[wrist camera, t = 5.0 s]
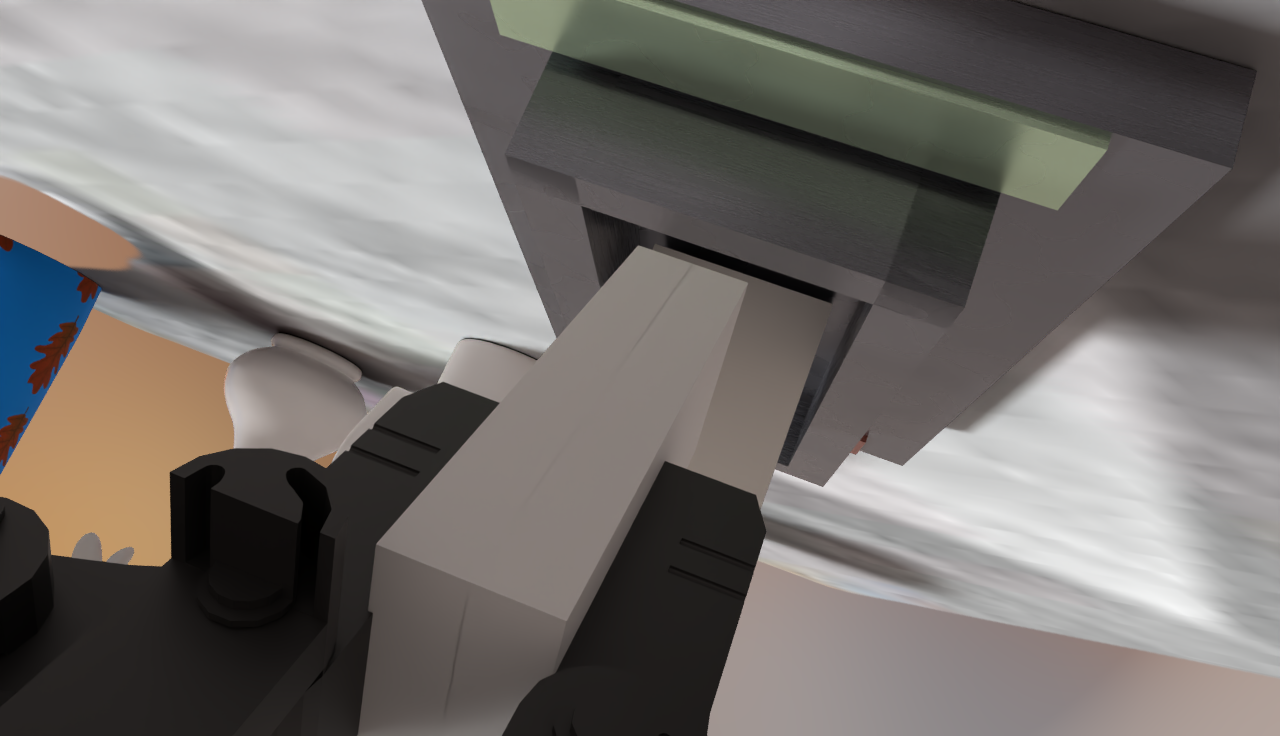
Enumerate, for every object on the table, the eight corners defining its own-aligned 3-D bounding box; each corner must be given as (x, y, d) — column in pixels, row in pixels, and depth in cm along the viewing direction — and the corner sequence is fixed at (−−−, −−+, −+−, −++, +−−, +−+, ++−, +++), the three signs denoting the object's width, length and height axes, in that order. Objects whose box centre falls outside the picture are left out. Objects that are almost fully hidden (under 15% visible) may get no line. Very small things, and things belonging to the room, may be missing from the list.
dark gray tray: (915, 423, 32) (883, 524, 31) (575, 302, 34) (535, 395, 33) (1256, 71, 13) (1197, 308, 12) (429, -166, 15) (325, 26, 14)
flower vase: (154, 284, 65) (-48, 652, 59) (356, 341, 57) (144, 778, 50) (286, 361, 76) (127, 678, 70) (472, 418, 68) (310, 785, 61)
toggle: (809, 359, 25) (676, 734, 22) (659, 307, 25) (514, 667, 23) (833, 304, 21) (674, 750, 18) (654, 243, 21) (479, 669, 19)
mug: (570, 366, 43) (457, 634, 40) (598, 409, 49) (502, 643, 46) (371, 299, 45) (250, 547, 42) (421, 348, 52) (319, 566, 49)
